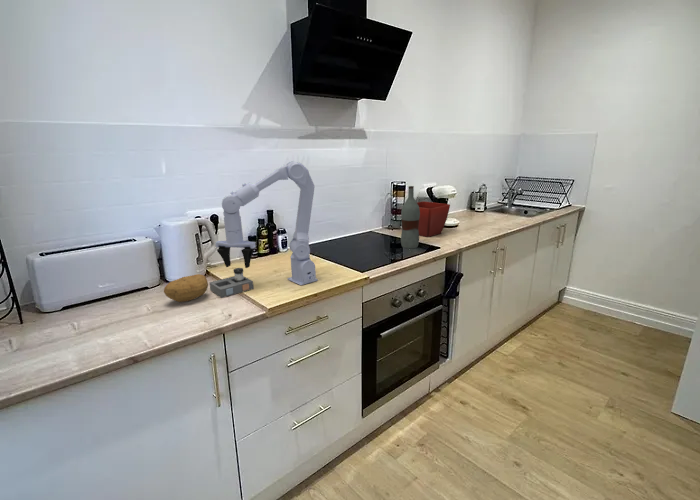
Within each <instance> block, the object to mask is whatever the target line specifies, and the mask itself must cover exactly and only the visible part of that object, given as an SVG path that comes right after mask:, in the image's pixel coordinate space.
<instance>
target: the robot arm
mask: <svg viewBox="0 0 700 500" xmlns="http://www.w3.org/2000/svg"><path fill="white" fill-rule="evenodd" d="M309 171H310V170H309V169H308V168H307V167H306V166H305V165H304V164H303V163H301V162H299V161H289V162H287V163H286V164H283V165H281V166H278V167H277V168H276V169H274V170H271V172H270V173H267V174H266V175H265V176H264V177H262V178H261V179H259V180H258V181H256V182H255V183H252V182H247V183H245V182H244V183H242V185H241V187H240V188H238V189H236V190H235V191H233V190H232V191H230V195H229V194H228V195H225V197H223V199H222V201H221V208H222V210H223V213H222V214H223V224H224V225H223V226H224V232H225V239H226V240H217V241H215V247H216V248H218V249H217V250H216V251H217V252H216V253H218V254H219V255H220V257H221V258H222V259H221V260H222V261H223V263H224V265H225V268H229V267H230V266H231V264H232V263H231V248H242V249H241V254H242V256H243V261H244V268H245V269H248V268H249V267H251V260H252V256H253V252H254V251H255V248H256V247H257V246H256V241H248V240H244V236H243V235H244V234H243V228H242V227H243V226H242V217H241V215H240V209H241V207H244V206H246V205H247V204H249V203H251V202H253V200H255V199H257V198H259V196H260V192H261V191H263V190H264V189H266V188H268V187H269V186H271V185H273V184H275V183H276V182H278V181H284V180H285V181H287V180H289V179H290V180H291V181H293V182H294V184H296V185H297V187H298V188H299V198H298V206H297V214H296V215H297V216H296V222H295V228H294V233H293V235H292V239H291V241H290V242H289V246H288V247H289V250H290V251H291V252H292V253H291V256H290V266H291V267H290V270H291V272H290V273H291V277H287V278H286V279H287V280H288V281H290V282H292V283H295V284H297V285H299V286H305V285H307V284H311V283H315V282H317V281H319V279H318V278H317V277H316V276H317V275H316V274H317V273H316V264H315V262H314V261H313V260H311V256H310V253H311V248H310V245H309V244H310V237H309V230H310V222H311V216H312V215H311V214H312V209H313V200H314V194H315V183H314V182H313V179H312V177H311V175H310V173H309Z"/></svg>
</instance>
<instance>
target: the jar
mask: <svg viewBox="0 0 700 500" xmlns="http://www.w3.org/2000/svg"><path fill="white" fill-rule="evenodd" d="M233 274H234V276H235V283H237V282H241V281H244V278H243V276H244V268H243V267H236V268H233Z"/></svg>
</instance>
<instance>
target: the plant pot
mask: <svg viewBox="0 0 700 500" xmlns="http://www.w3.org/2000/svg"><path fill="white" fill-rule="evenodd" d="M416 202H417V201H416ZM417 204H418V206H419V209H420V218H419V227H418V231H419V237H420V236H421V237H426V238H429V237H434V236H437V235H439V234H442V233H443V232H442V231H444V227H445V225H446V222H447V220H448V215H449V212H450V207H451V204H449V203H441V202H440V203H439V202H433V201H418V202H417Z"/></svg>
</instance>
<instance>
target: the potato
mask: <svg viewBox="0 0 700 500" xmlns="http://www.w3.org/2000/svg"><path fill="white" fill-rule="evenodd" d="M208 287H209V282H208V279H207V277H206V276H205V275H204V274H200V273H199V274H198V273H197V274H192V275H187V276H182V277H179V278H177V279H174V280H172V281H170V282H168V283H167V284H166V285H165V286H164V289H163V293H164V294H165V296H166V297H167V298H169V299H170V300H172V301H174V302H178V303H186V302H190V301H193V300H195V299H198V298H199V297H201V296H203V295H204V294H206V292H207V290H208Z"/></svg>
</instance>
